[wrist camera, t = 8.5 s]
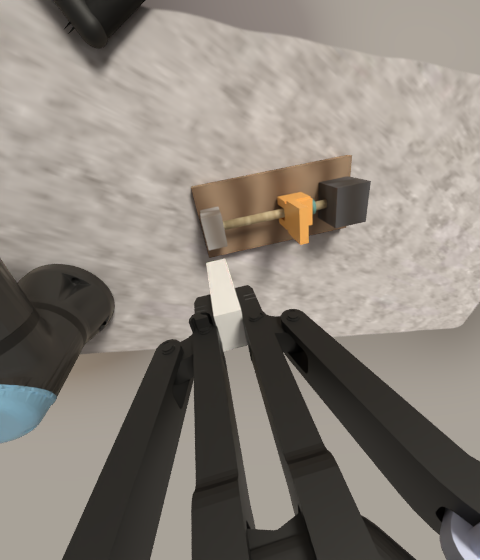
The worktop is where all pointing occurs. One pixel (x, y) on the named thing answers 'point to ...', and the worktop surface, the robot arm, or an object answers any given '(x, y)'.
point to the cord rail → (264, 205)
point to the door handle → (97, 17)
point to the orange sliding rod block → (297, 215)
